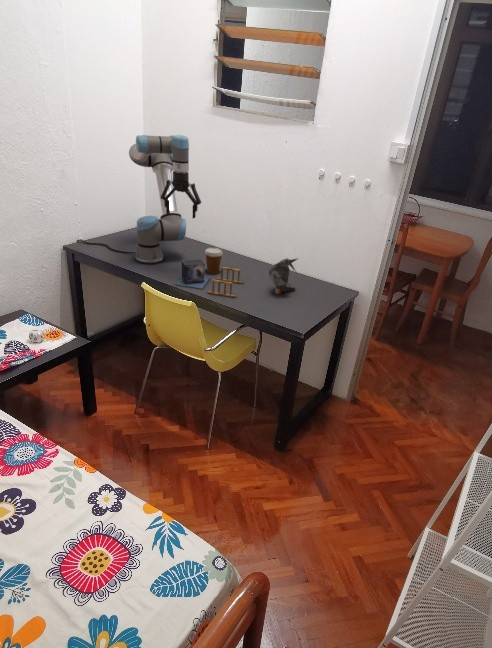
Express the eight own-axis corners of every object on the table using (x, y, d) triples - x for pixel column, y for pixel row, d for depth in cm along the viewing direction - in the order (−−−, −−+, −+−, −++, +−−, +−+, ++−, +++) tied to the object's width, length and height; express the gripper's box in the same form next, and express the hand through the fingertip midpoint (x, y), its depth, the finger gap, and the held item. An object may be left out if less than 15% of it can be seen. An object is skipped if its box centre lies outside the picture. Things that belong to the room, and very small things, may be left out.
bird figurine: (262, 286, 242) (265, 254, 232) (288, 284, 248) (292, 252, 238) (273, 298, 231) (276, 264, 222) (299, 295, 237) (304, 262, 227)
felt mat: (175, 285, 233) (175, 284, 233) (184, 275, 244) (184, 274, 244) (202, 289, 232) (202, 288, 232) (209, 279, 243) (209, 278, 243)
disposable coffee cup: (218, 275, 248) (219, 254, 241) (202, 272, 249) (202, 251, 243) (223, 269, 256) (224, 249, 249) (207, 266, 257) (208, 246, 250)
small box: (185, 284, 233) (185, 265, 227) (181, 279, 238) (180, 260, 232) (204, 282, 238) (205, 263, 232) (200, 277, 242) (200, 258, 237)
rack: (207, 293, 229) (208, 279, 224) (217, 279, 244) (218, 265, 240) (235, 297, 227) (235, 283, 223) (243, 283, 243) (243, 269, 239)
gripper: (152, 169, 217) (154, 214, 229) (203, 176, 215) (202, 221, 227) (158, 166, 223) (160, 210, 235) (207, 173, 221) (206, 217, 233)
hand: (181, 215), depth 231 cm, fingers open, 13 cm apart
